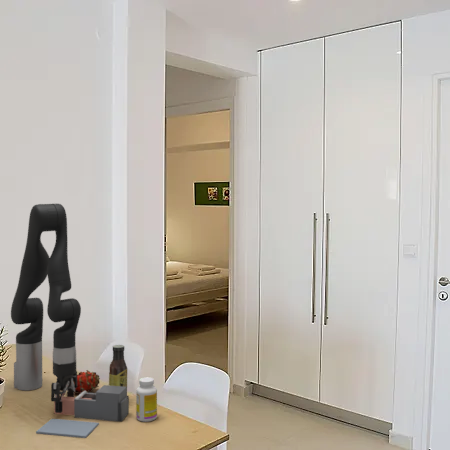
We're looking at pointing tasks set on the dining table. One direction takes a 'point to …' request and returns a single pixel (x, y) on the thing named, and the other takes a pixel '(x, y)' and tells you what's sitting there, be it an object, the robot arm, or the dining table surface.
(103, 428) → the dining table surface
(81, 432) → the rubber mat
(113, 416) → the dispenser
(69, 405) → the pink rectangular block
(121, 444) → the dining table surface
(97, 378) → the dragon fruit
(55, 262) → the robot arm
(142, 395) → the supplement bottle
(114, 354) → the sauce bottle
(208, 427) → the dining table surface
